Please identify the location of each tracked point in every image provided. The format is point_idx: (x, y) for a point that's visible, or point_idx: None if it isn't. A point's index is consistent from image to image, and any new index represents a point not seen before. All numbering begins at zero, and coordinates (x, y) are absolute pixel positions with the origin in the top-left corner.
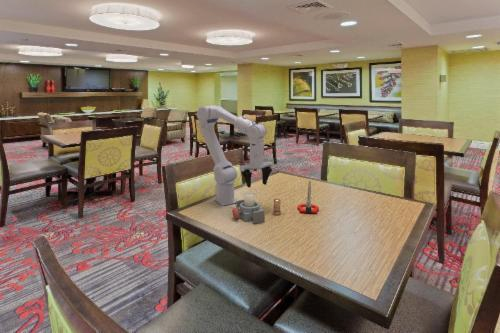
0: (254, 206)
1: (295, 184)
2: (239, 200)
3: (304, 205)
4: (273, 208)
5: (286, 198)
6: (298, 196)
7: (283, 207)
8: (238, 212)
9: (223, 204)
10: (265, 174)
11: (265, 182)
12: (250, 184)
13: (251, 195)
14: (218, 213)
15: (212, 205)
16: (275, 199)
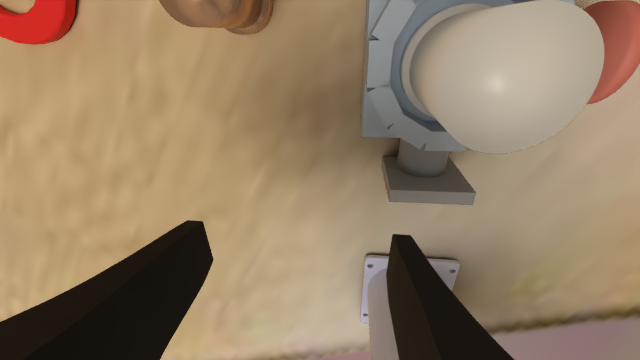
0: (434, 26)
1: (37, 289)
2: (447, 201)
3: (13, 14)
4: (254, 7)
5: (111, 185)
6: (41, 176)
7: (164, 78)
8: (624, 4)
9: (452, 263)
10: (97, 346)
11: (183, 235)
12: (407, 256)
13: (530, 31)
14: (551, 192)
15: (490, 283)
16: (199, 2)
